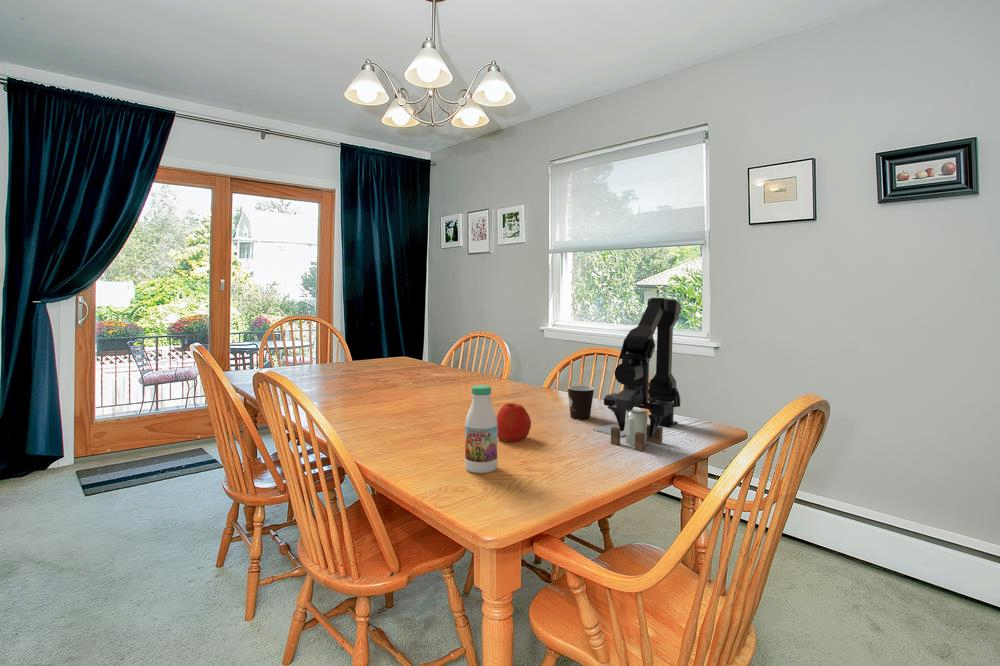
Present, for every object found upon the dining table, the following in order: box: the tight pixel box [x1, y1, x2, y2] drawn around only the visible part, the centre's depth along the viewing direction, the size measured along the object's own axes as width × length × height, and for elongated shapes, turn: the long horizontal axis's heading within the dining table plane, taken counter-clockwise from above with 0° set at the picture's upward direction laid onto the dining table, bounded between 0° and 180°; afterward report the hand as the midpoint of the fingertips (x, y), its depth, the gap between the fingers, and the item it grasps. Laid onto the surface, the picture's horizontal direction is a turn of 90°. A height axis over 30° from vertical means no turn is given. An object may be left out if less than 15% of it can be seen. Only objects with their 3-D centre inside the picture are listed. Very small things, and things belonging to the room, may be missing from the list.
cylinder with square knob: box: [625, 408, 648, 447], centre depth 145 cm, size 7×6×9 cm
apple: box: [496, 402, 532, 443], centre depth 150 cm, size 10×10×10 cm
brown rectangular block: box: [610, 423, 664, 452], centre depth 146 cm, size 11×10×4 cm
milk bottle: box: [464, 384, 498, 474], centre depth 125 cm, size 8×8×20 cm
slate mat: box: [592, 423, 626, 438], centre depth 159 cm, size 10×10×1 cm
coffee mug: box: [567, 385, 595, 421], centre depth 176 cm, size 12×9×10 cm
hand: (636, 434), depth 146 cm, fingers open, 9 cm apart
